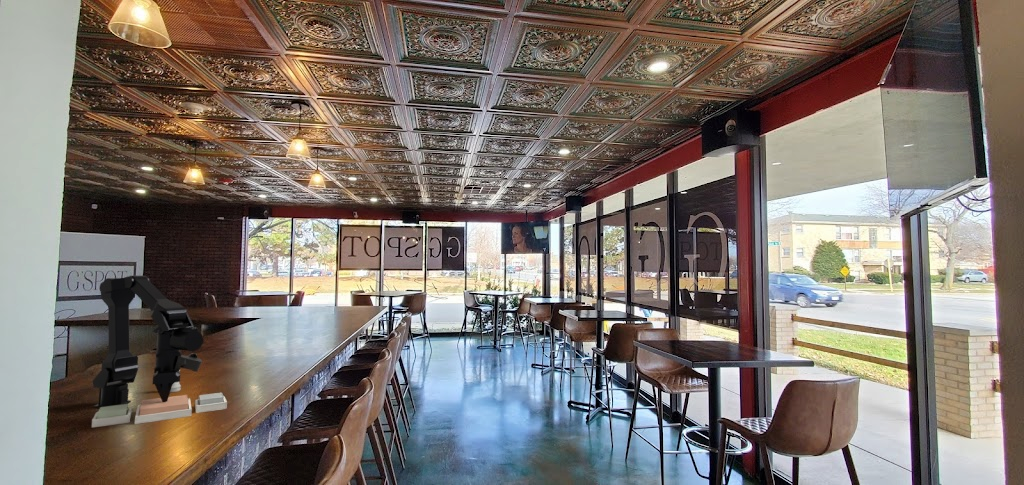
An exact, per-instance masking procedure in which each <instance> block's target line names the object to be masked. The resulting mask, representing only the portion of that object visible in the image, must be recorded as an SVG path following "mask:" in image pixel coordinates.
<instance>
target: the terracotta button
mask: <svg viewBox="0 0 1024 485" xmlns="http://www.w3.org/2000/svg"><path fill="white" fill-rule="evenodd" d="M188 399H189V398H188V394H183V395H175V396H169V397H168V400H167V402H162V400H161V397H157V398H151V399H150V398H149V399H142V400H141V404H140V405H141V407H140V414H139V416H140V415H148V414H155V413H162V412H170V411H177V410H185V409H188Z"/></svg>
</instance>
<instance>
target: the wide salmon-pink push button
mask: <svg viewBox="0 0 1024 485" xmlns="http://www.w3.org/2000/svg"><path fill="white" fill-rule="evenodd" d="M191 403H192V402H191V398H188V409H185V410H177V411H170V412H162V413H155V414H148V415H140V407H141V404H138V405H137V407H136V413H135V417H134V425H139V424H143V423H144V424H146V423H151V422H159V421H165V420H171V419H172V420H174V419H179V418H185V417H186V418H187V417H192V412H193V410H192V404H191Z"/></svg>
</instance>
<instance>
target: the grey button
mask: <svg viewBox="0 0 1024 485" xmlns="http://www.w3.org/2000/svg"><path fill="white" fill-rule="evenodd" d="M223 396H224V395H223V392H216V393H215V392H214V393H209V394H208V393H205V394H199V395H198V399H199V405H206V404H213V403H221V402H223V398H224V397H223Z"/></svg>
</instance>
